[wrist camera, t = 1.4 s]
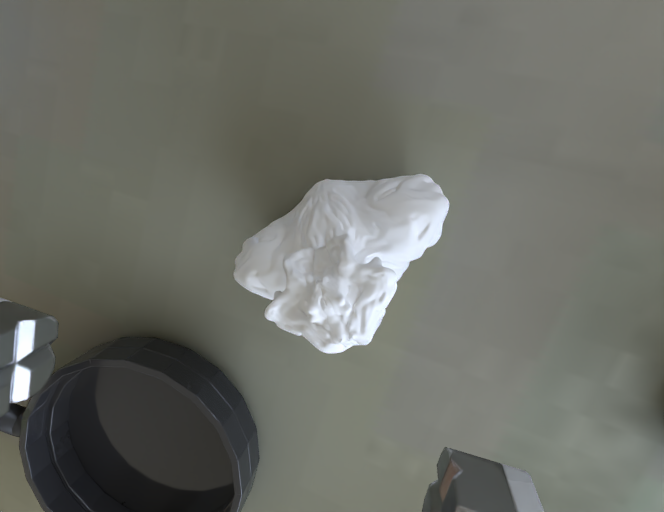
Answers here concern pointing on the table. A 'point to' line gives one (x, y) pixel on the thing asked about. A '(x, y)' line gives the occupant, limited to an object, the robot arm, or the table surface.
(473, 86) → the table surface
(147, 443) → the pan
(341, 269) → the bust
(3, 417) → the pan handle
